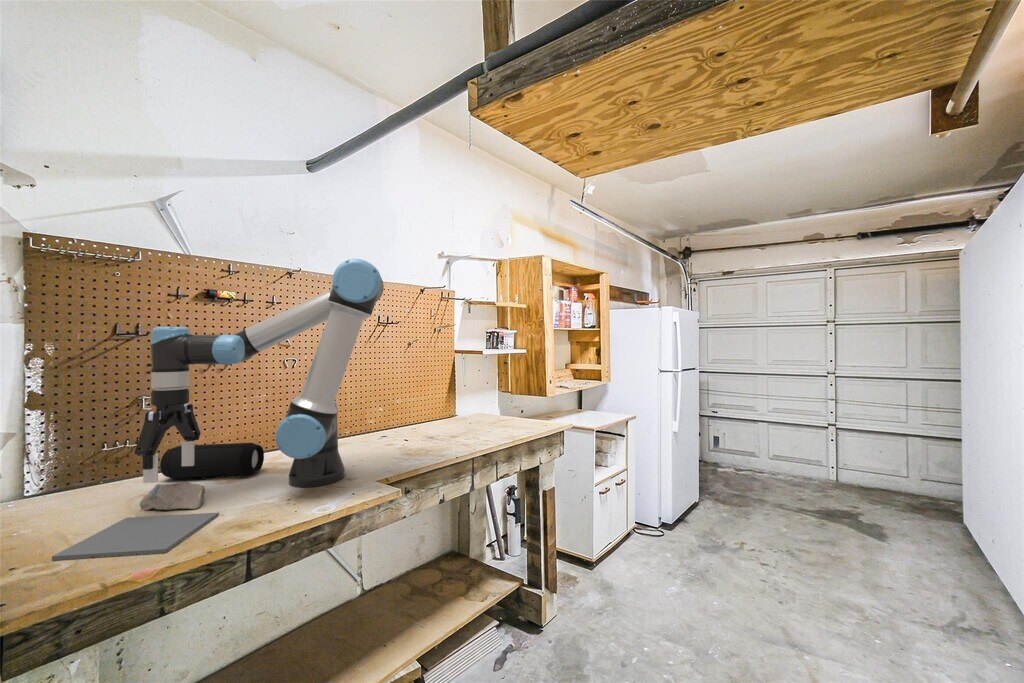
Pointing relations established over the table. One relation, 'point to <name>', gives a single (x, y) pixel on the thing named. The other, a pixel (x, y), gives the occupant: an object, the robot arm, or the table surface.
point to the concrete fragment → (174, 496)
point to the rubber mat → (138, 536)
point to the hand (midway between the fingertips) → (170, 473)
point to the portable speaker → (214, 461)
